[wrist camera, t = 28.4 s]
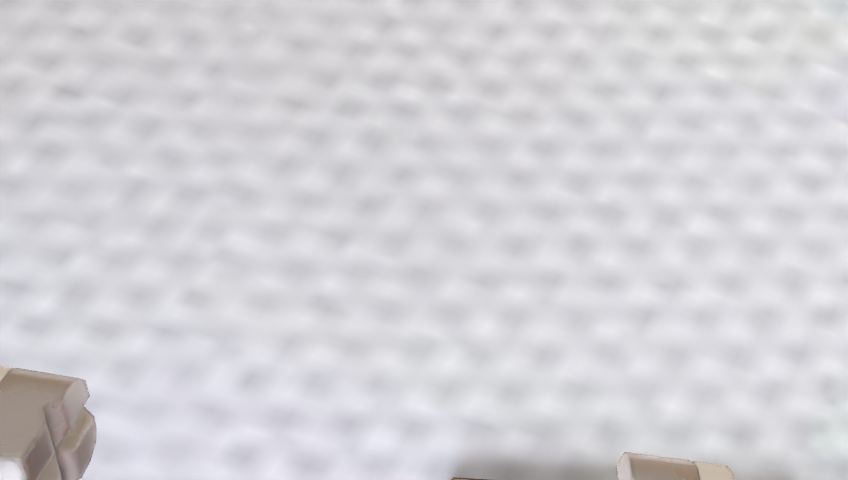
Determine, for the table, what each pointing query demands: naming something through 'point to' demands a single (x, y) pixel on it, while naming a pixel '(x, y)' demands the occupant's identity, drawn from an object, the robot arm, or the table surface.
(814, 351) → the table surface
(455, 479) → the walnut board
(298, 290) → the table surface
